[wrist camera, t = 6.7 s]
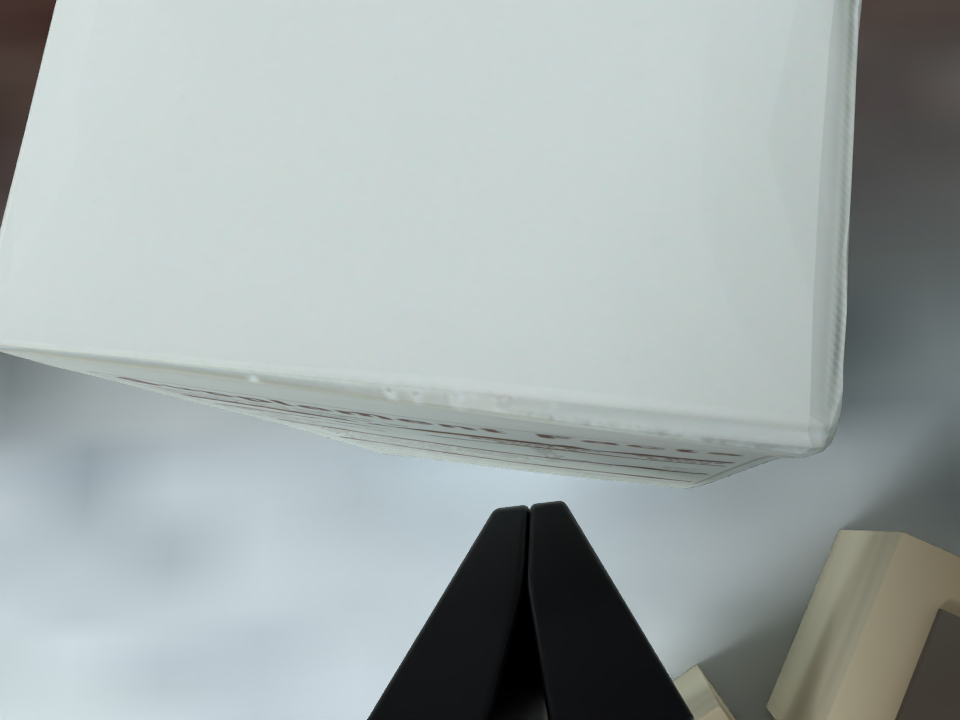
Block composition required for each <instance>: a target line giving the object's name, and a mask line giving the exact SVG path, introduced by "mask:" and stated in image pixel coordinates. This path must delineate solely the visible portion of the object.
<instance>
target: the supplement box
mask: <svg viewBox="0 0 960 720" xmlns="http://www.w3.org/2000/svg"><path fill="white" fill-rule="evenodd" d="M861 5H862V0H57V1H56V5H55V9H54V13H53V17H52V21H51V25H50V29H49V34H48V38H47V42H46V46H45V50H44V54H43V58H42V63H41V67H40V71H39V75H38V79H37V83H36V87H35V91H34V96H33V100H32V104H31V108H30V112H29V116H28V120H27V124H26V129H25V133H24V137H23V141H22V145H21V149H20V153H19V157H18V161H17V165H16V169H15V173H14V177H13V181H12V185H11V189H10V193H9V197H8V201H7V205H6V209H5V213H4V217H3V221H2V225H1V229H0V351H1V352H4V353H7V354H10V355H14V356H18V357H21V358H25V359H29V360H32V361H36V362H39V363H43V364H47V365H50V366H54V367H58V368H63V369H67V370H71V371H75V372H79V373H83V374H87V375H91V376H95V377H99V378H103V379H107V380H111V381H115V382H119V383H123V384H126V385H130V386H134V387H138V388H141V389H145V390H148V391H152V392H156V393H160V394H164V395H167V396H171V397H175V398H179V399H183V400H187V401H191V402H195V403H199V404H203V405H208V406H212V407H216V408H220V409H224V410H228V411H232V412H236V413H240V414H244V415H248V416H252V417H257V418H260V419H264V420H268V421H272V422H275V423H279V424H282V425H286V426H290V427H293V428H297V429H300V430H303V431H307V432H310V433H313V434H317V435H321V436H325V437H327V438H331V439H335V440H338V441H342V442H345V443H348V444H352V445H355V446H358V447H362V448H365V449H368V450H372V451H376V452H380V453H383V454H390V455H399V456H408V457H417V458H425V459H433V460H441V461H449V462H457V463H464V464H472V465H480V466H488V467H497V468H505V469H513V470H521V471H530V472H538V473H546V474H554V475H563V476H572V477H582V478H591V479H600V480H609V481H619V482H628V483H637V484H647V485H657V486H666V487H676V488H692V487H695V486H701V485H705V484H707V483H711V482H714V481H716V480H719V479H722V478H725V477H727V476H730V475H732V474H735V473H738V472H741V471H744V470H746V469H749V468H752V467H754V466H757V465H760V464H763V463H766V462H769V461H773V460H776V459H780V458H788V457H807V456H810V455H813V454H816V453H819V452H821V451H823V450H824V449H825V448H826V447H827V446H828V445H829V444H830V443H831V442H832V440H833V437H834V435H835V433H836V430H837V426H838V422H839V419H840V415H841V405H842V396H843V360H844V346H845V331H846V317H847V284H848V247H849V223H850V200H851V180H852V159H853V139H854V114H855V93H856V72H857V51H858V33H859V24H860V14H861Z"/></svg>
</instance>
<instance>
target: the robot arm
mask: <svg viewBox="0 0 960 720" xmlns="http://www.w3.org/2000/svg"><path fill="white" fill-rule="evenodd" d="M367 720H694V716H693V714H692V713H691V711H690V709H689V708H688V706H687V704H686V703H685V701H684V699H683V698H682V696H681V694H680V693H679V691H678V689H677V688H676V686H675V684H674V683H673V681H672V679H671V678H670V676H669V674H668V673H667V671H666V669H665V668H664V666H663V664H662V663H661V661H660V659H659V658H658V656H657V654H656V653H655V651H654V649H653V648H652V646H651V644H650V643H649V641H648V639H647V638H646V636H645V634H644V633H643V631H642V629H641V628H640V626H639V624H638V623H637V621H636V619H635V618H634V616H633V614H632V613H631V611H630V609H629V608H628V606H627V604H626V603H625V601H624V599H623V598H622V596H621V594H620V593H619V591H618V589H617V588H616V586H615V584H614V583H613V581H612V579H611V578H610V576H609V575H608V573H607V571H606V570H605V568H604V566H603V565H602V563H601V561H600V560H599V558H598V556H597V555H596V553H595V551H594V550H593V548H592V546H591V545H590V543H589V541H588V540H587V538H586V536H585V535H584V533H583V531H582V530H581V528H580V526H579V525H578V523H577V521H576V520H575V518H574V516H573V515H572V513H571V511H570V510H569V508H568V506H567V505H566V504H565V503H564V502H562V501H555V502H547V503H538V504H534V505H532V506H531V508H530V509H529V508H528V507H527V506H524V505H521V506H513V507H505V508H498V509H496V510H494V511H493V512H492V514H491V515H490V517H489V519H488V520H487V522H486V524H485V525H484V527H483V529H482V530H481V532H480V534H479V535H478V537H477V539H476V540H475V542H474V544H473V545H472V547H471V549H470V550H469V552H468V554H467V555H466V557H465V559H464V560H463V562H462V563H461V565H460V567H459V568H458V570H457V572H456V573H455V575H454V577H453V578H452V580H451V582H450V583H449V585H448V587H447V588H446V590H445V592H444V593H443V595H442V597H441V598H440V600H439V602H438V603H437V605H436V607H435V608H434V610H433V612H432V613H431V615H430V616H429V618H428V620H427V621H426V623H425V625H424V626H423V628H422V630H421V631H420V633H419V635H418V636H417V638H416V640H415V641H414V643H413V645H412V646H411V648H410V650H409V651H408V653H407V655H406V656H405V658H404V660H403V661H402V663H401V664H400V666H399V668H398V669H397V671H396V673H395V674H394V676H393V678H392V679H391V681H390V683H389V684H388V686H387V688H386V689H385V691H384V693H383V694H382V696H381V698H380V699H379V701H378V703H377V704H376V706H375V708H374V709H373V711H372V712H371V714H370V716H369V717H368V719H367Z"/></svg>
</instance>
